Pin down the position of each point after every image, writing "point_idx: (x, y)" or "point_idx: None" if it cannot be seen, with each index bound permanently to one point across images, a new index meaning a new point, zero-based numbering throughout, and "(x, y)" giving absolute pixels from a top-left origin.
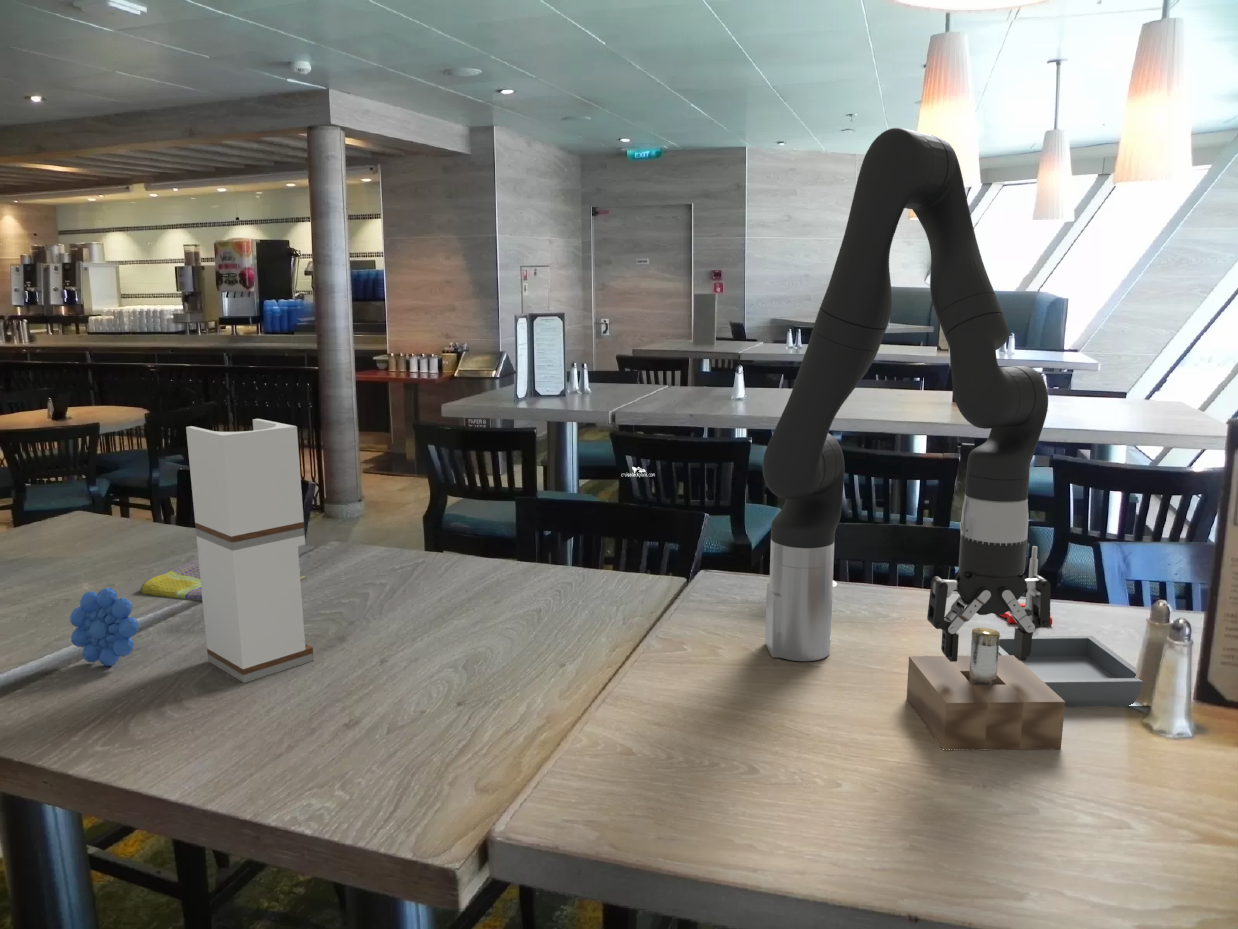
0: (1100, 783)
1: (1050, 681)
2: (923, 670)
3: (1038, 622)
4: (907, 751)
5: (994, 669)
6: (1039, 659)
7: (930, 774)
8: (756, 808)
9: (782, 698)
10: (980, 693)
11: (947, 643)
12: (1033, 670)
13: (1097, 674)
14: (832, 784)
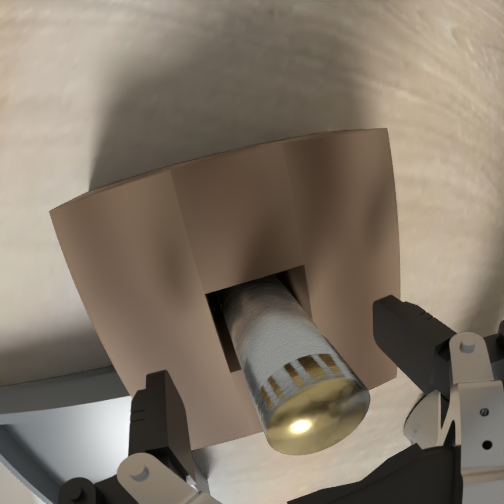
0: (50, 69)
1: (94, 405)
2: None
3: (105, 499)
4: (383, 123)
5: (249, 321)
6: None
7: (354, 46)
8: (496, 9)
9: (487, 271)
10: (292, 208)
11: (435, 321)
12: None
13: (47, 460)
14: (458, 35)
